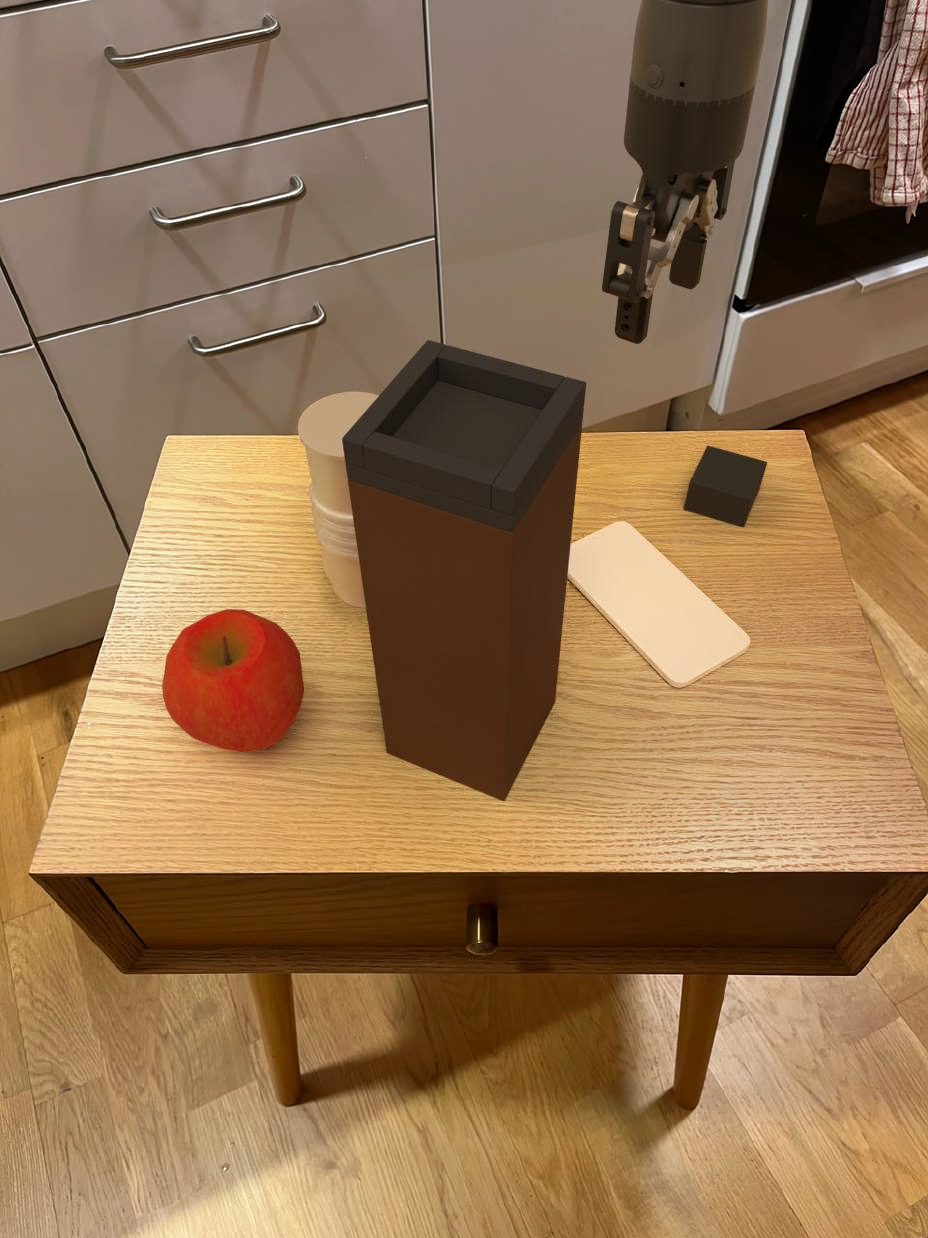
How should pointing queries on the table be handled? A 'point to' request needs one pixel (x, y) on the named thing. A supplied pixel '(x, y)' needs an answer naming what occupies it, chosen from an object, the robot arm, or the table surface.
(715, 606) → the smartphone
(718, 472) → the dark brown square block
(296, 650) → the apple
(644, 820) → the table surface
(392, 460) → the brown square canister
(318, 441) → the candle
